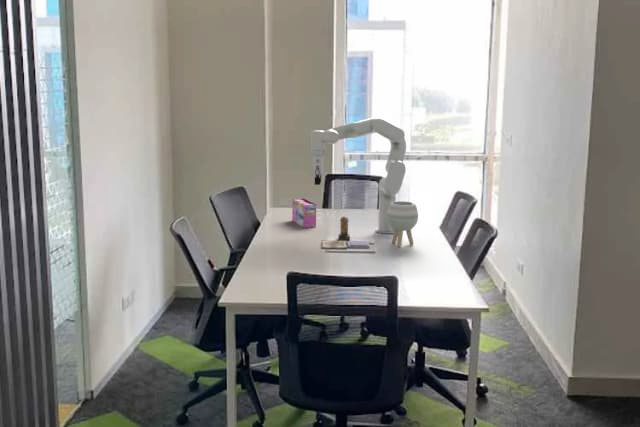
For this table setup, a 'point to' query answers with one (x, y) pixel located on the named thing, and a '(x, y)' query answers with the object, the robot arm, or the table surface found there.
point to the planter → (402, 220)
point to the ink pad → (358, 244)
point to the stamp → (344, 229)
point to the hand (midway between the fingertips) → (317, 183)
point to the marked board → (334, 244)
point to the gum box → (304, 213)
